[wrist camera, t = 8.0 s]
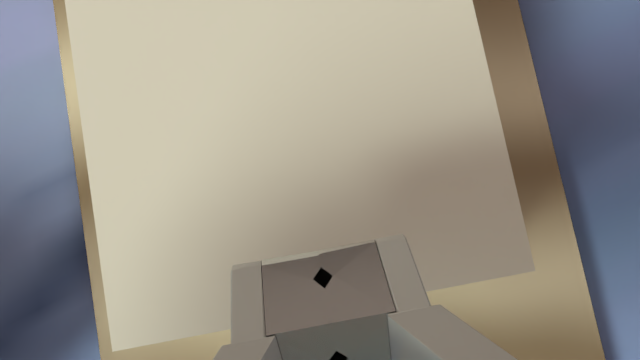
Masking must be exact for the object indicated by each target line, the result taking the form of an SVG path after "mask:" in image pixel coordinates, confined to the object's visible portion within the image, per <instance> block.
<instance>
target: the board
mask: <svg viewBox="0 0 640 360" xmlns="http://www.w3.org/2000/svg"><path fill="white" fill-rule="evenodd" d="M53 4H54V11H55V19H56V26H57V34H58V41H59V49H60V56H61V64H62V71H63V79H64V86H65V94H66V101H67V109H68V116H69V124H70V131H71V139H72V146H73V154H74V161H75V169H76V176H77V184H78V191H79V199H80V206H81V214H82V221H83V229H84V236H85V244H86V251H87V259H88V266H89V274H90V281H91V289H92V296H93V304H94V311H95V319H96V326H97V334H98V341H99V349H100V356H101V360H213V358H214V357H215V355H216V354H217V352H218V351H219V349H220V348H221V346H223V345H227V344H231V329H229V330H224V331H219V332H213V333H208V334H203V335H198V336H192V337H187V338H182V339H177V340H171V341H166V342H161V343H156V344H150V345H145V346H140V347H135V348H130V349H124V350H119V351H114V352H112V345H111V338H110V331H109V323H108V316H107V309H106V301H105V294H104V287H103V279H102V272H101V265H100V257H99V250H98V242H97V235H96V228H95V220H94V213H93V206H92V198H91V191H90V184H89V176H88V169H87V162H86V154H85V147H84V140H83V132H82V125H81V117H80V110H79V103H78V95H77V88H76V81H75V73H74V66H73V59H72V51H71V44H70V37H69V29H68V22H67V14H66V7H65V0H53ZM473 5H474V9H475V13H476V18H477V22H478V26H479V30H480V35H481V39H482V43H483V48H484V52H485V56H486V60H487V65H488V69H489V73H490V78H491V82H492V86H493V91H494V95H495V99H496V103H497V108H498V112H499V116H500V121H501V125H502V129H503V133H504V138H505V142H506V146H507V151H508V155H509V159H510V163H511V168H512V172H513V176H514V181H515V185H516V189H517V193H518V198H519V202H520V206H521V211H522V215H523V219H524V223H525V228H526V232H527V236H528V241H529V245H530V249H531V253H532V258H533V262H534V266H535V271H533V272H527V273H522V274H517V275H512V276H506V277H501V278H496V279H491V280H485V281H480V282H475V283H470V284H464V285H459V286H454V287H449V288H444V289H438V290H433V291H428V292H426V293H427V296H428V299H429V301H430V304H431V306H433V305H439V304H440V305H442V306H443V307H444V308H446V309H447V310H449V311H450V312H451V313H453V314H454V315H456V316H457V317H458V318H460V319H461V320H463V321H464V322H465V323H467V324H468V325H470V326H471V327H472V328H474V329H475V330H477V331H478V332H479V333H481V334H482V335H484V336H485V337H486V338H488V339H489V340H491V341H492V342H493V343H495V344H496V345H498V346H499V347H500V348H502V349H503V350H505V351H506V352H507V353H509V354H510V355H512V356H513V357H514V358H516V359H517V360H605V356H604V352H603V348H602V344H601V340H600V336H599V331H598V327H597V323H596V319H595V315H594V311H593V307H592V303H591V299H590V295H589V290H588V286H587V282H586V278H585V274H584V270H583V266H582V262H581V258H580V254H579V249H578V245H577V241H576V237H575V233H574V229H573V225H572V221H571V217H570V213H569V208H568V204H567V200H566V196H565V192H564V188H563V184H562V180H561V176H560V172H559V167H558V163H557V159H556V155H555V151H554V147H553V143H552V139H551V135H550V131H549V126H548V122H547V118H546V114H545V110H544V106H543V102H542V98H541V94H540V90H539V85H538V81H537V77H536V73H535V69H534V65H533V61H532V57H531V53H530V49H529V44H528V40H527V36H526V32H525V28H524V24H523V20H522V16H521V12H520V8H519V3H518V0H473Z"/></svg>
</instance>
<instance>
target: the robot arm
mask: <svg viewBox="0 0 640 360" xmlns="http://www.w3.org/2000/svg"><path fill="white" fill-rule="evenodd" d="M213 360H517V359H516V358H514V357H513V356H512V355H510V354H509V353H507V352H506V351H505V350H503V349H502V348H500V347H499V346H498V345H496V344H495V343H493V342H492V341H491V340H489V339H488V338H486V337H485V336H484V335H482V334H481V333H479V332H478V331H477V330H475V329H474V328H472V327H471V326H470V325H468V324H467V323H465V322H464V321H463V320H461V319H460V318H458V317H457V316H456V315H454V314H453V313H451V312H450V311H449V310H447V309H446V308H444V307H443V306H442V305H440V304H439V305H433V306H431V304H430V301H429V299H428V296H427V293H426V291H425V288H424V285H423V282H422V280H421V277H420V274H419V272H418V269H417V266H416V263H415V261H414V258H413V255H412V253H411V250H410V247H409V244H408V242H407V239H406V237H405V236H404V235H403V234H398V235H393V236H388V237H383V238H378V239H374V240H368V241H363V242H358V243H353V244H348V245H342V246H337V247H332V248H327V249H322V250H318V251H313V252H307V253H301V254H295V255H289V256H283V257H276V258H270V259H264V260H262V261H256V262H249V263H243V264H237V265H233V266H232V270H231V344H227V345H223V346H221V348H220V349H219V351H218V352H217V354H216V355H215V357H214V358H213Z"/></svg>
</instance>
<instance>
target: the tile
mask: <svg viewBox="0 0 640 360" xmlns="http://www.w3.org/2000/svg"><path fill="white" fill-rule="evenodd" d="M65 7H66V14H67V22H68V29H69V37H70V44H71V51H72V59H73V66H74V73H75V81H76V88H77V95H78V103H79V110H80V117H81V125H82V132H83V140H84V147H85V154H86V162H87V169H88V176H89V184H90V191H91V198H92V206H93V213H94V220H95V228H96V235H97V242H98V250H99V257H100V265H101V272H102V279H103V287H104V294H105V301H106V309H107V316H108V323H109V331H110V338H111V345H112V352H114V351H119V350H124V349H130V348H135V347H140V346H145V345H150V344H156V343H161V342H166V341H171V340H177V339H182V338H187V337H192V336H198V335H203V334H208V333H213V332H219V331H224V330H229V329H231V270H232V266H233V265H237V264H243V263H249V262H256V261H262V260H264V259H270V258H276V257H283V256H289V255H295V254H301V253H307V252H313V251H318V250H322V249H327V248H332V247H337V246H342V245H348V244H353V243H358V242H363V241H368V240H374V239H378V238H383V237H388V236H393V235H398V234H403V235H404V236H405V237H406V239H407V242H408V244H409V247H410V250H411V253H412V255H413V258H414V261H415V263H416V266H417V269H418V272H419V274H420V277H421V280H422V282H423V285H424V288H425V291H426V292H428V291H433V290H438V289H444V288H449V287H454V286H459V285H464V284H470V283H475V282H480V281H485V280H491V279H496V278H501V277H506V276H512V275H517V274H522V273H527V272H533V271H535V266H534V262H533V258H532V253H531V249H530V245H529V241H528V236H527V232H526V228H525V223H524V219H523V215H522V211H521V206H520V202H519V198H518V193H517V189H516V185H515V181H514V176H513V172H512V168H511V163H510V159H509V155H508V151H507V146H506V142H505V138H504V133H503V129H502V125H501V121H500V116H499V112H498V108H497V103H496V99H495V95H494V91H493V86H492V82H491V78H490V73H489V69H488V65H487V60H486V56H485V52H484V48H483V43H482V39H481V35H480V30H479V26H478V22H477V18H476V13H475V9H474V5H473V0H65Z"/></svg>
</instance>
